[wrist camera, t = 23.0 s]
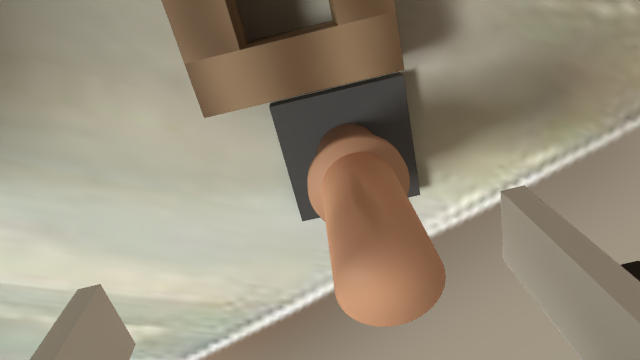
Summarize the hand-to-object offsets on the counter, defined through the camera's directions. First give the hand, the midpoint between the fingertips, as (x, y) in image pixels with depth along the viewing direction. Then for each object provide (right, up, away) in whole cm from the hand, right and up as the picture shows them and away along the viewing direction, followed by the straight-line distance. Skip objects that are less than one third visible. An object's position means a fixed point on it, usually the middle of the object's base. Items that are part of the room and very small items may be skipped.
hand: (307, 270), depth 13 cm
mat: (+2, +5, +16) cm, 17 cm away
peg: (+2, +5, +15) cm, 16 cm away
